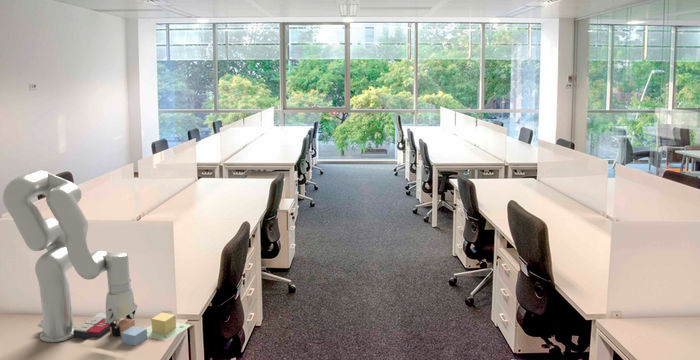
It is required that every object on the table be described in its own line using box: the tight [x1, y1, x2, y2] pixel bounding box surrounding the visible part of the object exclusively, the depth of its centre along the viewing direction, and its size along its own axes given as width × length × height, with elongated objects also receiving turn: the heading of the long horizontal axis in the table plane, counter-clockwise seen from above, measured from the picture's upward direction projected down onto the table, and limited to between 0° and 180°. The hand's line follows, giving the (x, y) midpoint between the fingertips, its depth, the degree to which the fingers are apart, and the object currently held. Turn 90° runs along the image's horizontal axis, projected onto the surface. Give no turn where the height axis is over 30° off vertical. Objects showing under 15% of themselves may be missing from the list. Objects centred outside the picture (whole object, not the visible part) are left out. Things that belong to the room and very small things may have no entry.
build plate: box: [144, 321, 192, 342], centre depth 220 cm, size 14×14×1 cm
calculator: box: [73, 312, 125, 340], centre depth 222 cm, size 11×4×15 cm
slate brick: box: [120, 325, 148, 347], centre depth 212 cm, size 6×6×5 cm
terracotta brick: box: [109, 317, 136, 337], centre depth 218 cm, size 6×6×5 cm
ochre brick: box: [150, 312, 177, 334], centre depth 220 cm, size 6×6×5 cm
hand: (123, 332), depth 219 cm, fingers closed on terracotta brick, 6 cm apart
